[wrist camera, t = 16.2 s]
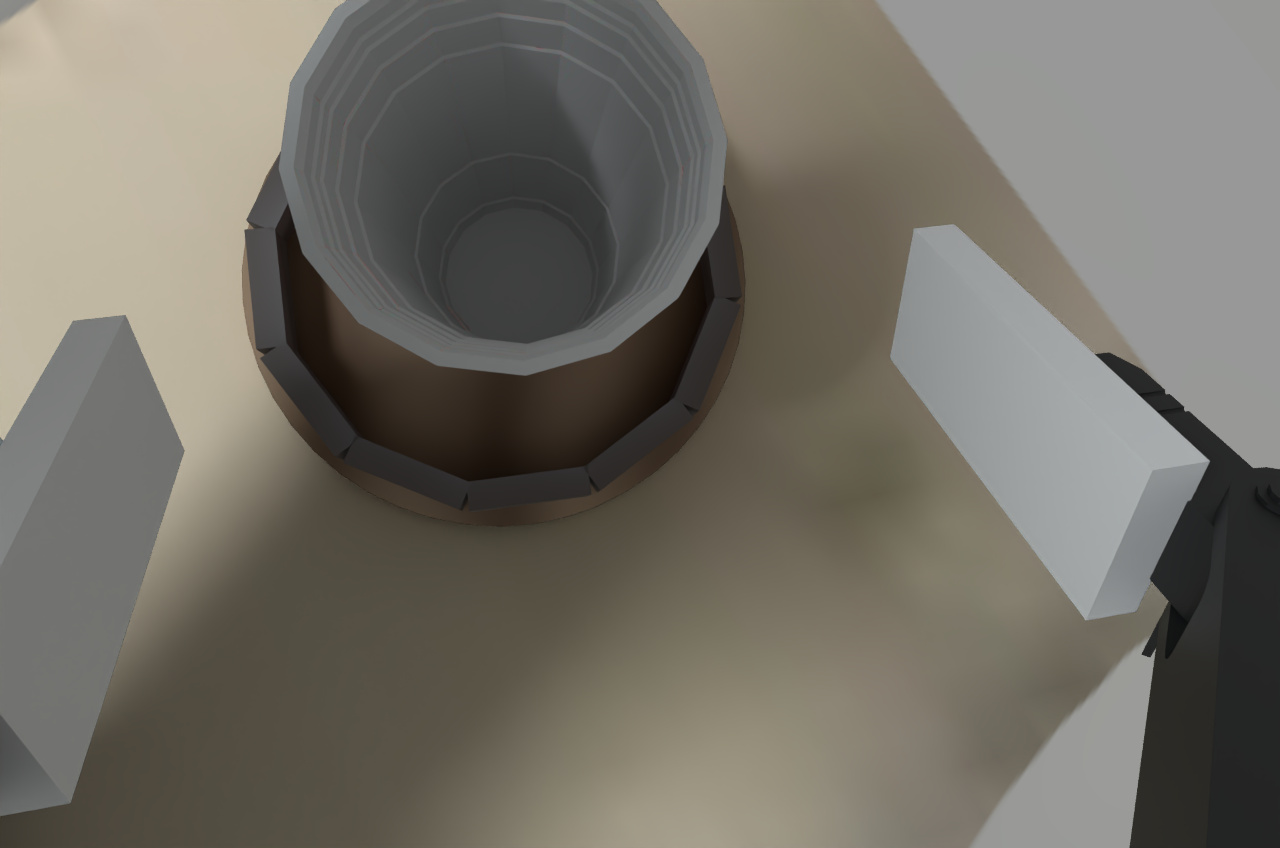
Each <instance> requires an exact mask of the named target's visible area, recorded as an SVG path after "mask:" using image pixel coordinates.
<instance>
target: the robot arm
mask: <svg viewBox="0 0 1280 848" xmlns="http://www.w3.org/2000/svg"><path fill="white" fill-rule="evenodd" d="M890 359H891V360H892V362H893V363H894V364H895V366H896V367H897V368H898V370H899V371H900V372H901V374H902V375H903V376H904V378H905V379H906V380H907V382H908V383H909V384H910V386H911V387H912V388H913V390H914V391H915V392H916V394H917V395H918V396H919V398H920V399H921V400H922V402H923V403H924V405H925V406H926V407H927V409H928V410H929V411H930V413H931V414H932V415H933V417H934V418H935V419H936V421H937V422H938V423H939V425H940V426H941V427H942V429H943V430H944V431H945V433H946V434H947V435H948V437H949V438H950V439H951V441H952V442H953V443H954V445H955V446H956V447H957V449H958V450H959V451H960V453H961V454H962V455H963V457H964V458H965V459H966V461H967V462H968V463H969V465H970V466H971V467H972V469H973V470H974V471H975V473H976V474H977V475H978V477H979V478H980V479H981V481H982V482H983V483H984V485H985V486H986V487H987V489H988V490H989V492H990V493H991V494H992V496H993V497H994V498H995V500H996V501H997V502H998V504H999V505H1000V506H1001V508H1002V509H1003V510H1004V512H1005V513H1006V514H1007V516H1008V517H1009V518H1010V520H1011V521H1012V522H1013V524H1014V525H1015V526H1016V528H1017V529H1018V530H1019V532H1020V533H1021V534H1022V536H1023V537H1024V538H1025V540H1026V541H1027V542H1028V544H1029V545H1030V546H1031V548H1032V549H1033V550H1034V552H1035V553H1036V554H1037V556H1038V557H1039V558H1040V560H1041V561H1042V562H1043V564H1044V565H1045V566H1046V568H1047V569H1048V570H1049V572H1050V573H1051V574H1052V576H1053V577H1054V579H1055V580H1056V581H1057V583H1058V584H1059V585H1060V587H1061V588H1062V589H1063V591H1064V592H1065V593H1066V595H1067V596H1068V597H1069V599H1070V600H1071V601H1072V603H1073V604H1074V605H1075V607H1076V608H1077V609H1078V611H1079V612H1080V613H1081V615H1082V616H1083V617H1084V619H1085V620H1092V619H1098V618H1103V617H1109V616H1114V615H1120V614H1125V613H1131V612H1136V611H1137V609H1138V607H1139V604H1140V602H1141V600H1142V598H1143V596H1144V594H1145V592H1146V590H1147V588H1148V586H1149V584H1150V582H1151V581H1152V582H1153V583H1154V585H1155V586H1156V587H1157V588H1158V589H1159V590H1160V592H1161V593H1162V594H1163V595H1164V596H1165V597H1166V599H1167V600H1168V601H1169V602H1168V604H1167V606H1166V608H1165V610H1164V612H1163V614H1162V616H1161V618H1160V619H1159V621H1158V623H1157V625H1156V627H1155V629H1154V631H1153V633H1152V635H1151V637H1150V639H1149V641H1148V642H1147V644H1146V646H1145V649H1144V651H1143V652H1142V655H1145V656H1147V657H1151V655H1152V653H1153V652H1154V650H1155V648H1156V652H1155V660H1154V667H1153V675H1152V682H1151V690H1150V697H1149V705H1148V712H1147V720H1146V728H1145V736H1144V743H1143V750H1142V758H1141V766H1140V773H1139V780H1138V788H1137V796H1136V803H1135V812H1134V818H1133V826H1132V834H1131V842H1130V848H1280V469H1274V468H1267V467H1265V468H1252V467H1251V466H1250V465H1249V464H1248V463H1247V462H1246V461H1244V460H1243V459H1242V458H1241V457H1240V456H1239V455H1237V453H1235V452H1234V451H1233V450H1232V449H1231V448H1230V447H1229V446H1227V445H1226V444H1225V443H1224V442H1223V441H1222V440H1221V439H1220V438H1219V437H1217V436H1216V435H1215V434H1214V433H1213V432H1212V431H1211V430H1210V429H1208V428H1207V427H1206V426H1205V425H1204V424H1203V423H1202V422H1201V421H1199V420H1198V419H1197V418H1196V417H1195V416H1194V415H1193V414H1192V413H1190V412H1189V411H1187V412H1185V411H1184V406H1182V405H1181V404H1180V403H1179V402H1178V401H1177V400H1176V399H1175V398H1174V397H1172V396H1171V395H1170V394H1167V395H1166V394H1165V389H1163V388H1162V387H1161V386H1160V385H1159V384H1158V383H1157V382H1156V381H1154V380H1153V379H1152V378H1151V377H1150V376H1149V375H1148V374H1146V373H1145V372H1144V371H1143V370H1142V369H1140V368H1138V367H1136V366H1134V365H1132V364H1130V363H1129V362H1127V361H1125V360H1123V359H1121V358H1119V357H1117V356H1115V355H1113V354H1111V353H1101V354H1094V353H1093V352H1092V351H1091V350H1089V349H1088V348H1087V347H1086V346H1085V345H1084V344H1083V343H1082V342H1081V341H1080V340H1079V339H1078V338H1077V337H1075V336H1074V335H1073V334H1072V333H1071V332H1070V331H1069V330H1068V329H1067V328H1066V327H1065V326H1064V325H1063V324H1061V323H1060V322H1059V321H1058V320H1057V319H1056V318H1055V317H1054V316H1053V315H1052V314H1051V313H1050V312H1049V311H1047V310H1046V309H1045V308H1044V307H1043V306H1042V305H1041V304H1040V303H1039V302H1038V301H1037V300H1036V299H1035V298H1033V297H1032V296H1031V295H1030V294H1029V293H1028V292H1027V291H1026V290H1025V289H1024V288H1023V287H1022V286H1020V285H1019V284H1018V283H1017V282H1016V281H1015V280H1014V279H1013V278H1012V277H1011V276H1010V275H1009V274H1008V273H1006V272H1005V271H1004V270H1003V269H1002V268H1001V267H1000V266H999V265H998V264H997V263H996V262H995V261H994V260H992V259H991V258H990V257H989V256H988V255H987V254H986V253H985V252H984V251H983V250H982V249H981V248H980V247H978V246H977V245H976V244H975V243H974V242H973V241H972V240H971V239H970V238H969V237H968V236H967V235H966V234H964V233H963V232H962V231H961V230H960V229H959V228H958V227H957V226H956V225H955V224H951V225H942V226H933V227H923V228H914V231H913V236H912V242H911V247H910V252H909V258H908V263H907V269H906V274H905V279H904V285H903V290H902V296H901V301H900V307H899V312H898V317H897V323H896V328H895V334H894V339H893V345H892V350H891V355H890ZM183 454H184V448H183V446H182V444H181V441H180V439H179V437H178V435H177V432H176V430H175V428H174V425H173V423H172V421H171V418H170V416H169V414H168V412H167V409H166V407H165V405H164V402H163V400H162V398H161V395H160V393H159V391H158V389H157V386H156V384H155V382H154V379H153V377H152V375H151V372H150V370H149V368H148V366H147V363H146V361H145V359H144V356H143V354H142V352H141V349H140V347H139V345H138V343H137V340H136V338H135V336H134V333H133V331H132V329H131V326H130V324H129V322H128V320H127V317H126V315H122V316H113V317H104V318H95V319H86V320H77V321H73V322H72V324H71V325H70V327H69V329H68V331H67V332H66V334H65V336H64V338H63V339H62V341H61V343H60V344H59V346H58V348H57V350H56V351H55V353H54V355H53V356H52V358H51V360H50V362H49V363H48V365H47V367H46V369H45V370H44V372H43V374H42V375H41V377H40V379H39V381H38V382H37V384H36V386H35V387H34V389H33V391H32V393H31V394H30V396H29V398H28V400H27V401H26V403H25V405H24V406H23V408H22V410H21V412H20V413H19V415H18V417H17V418H16V420H15V422H14V424H13V425H12V427H11V429H10V430H9V432H8V434H7V436H6V437H5V439H4V441H3V440H2V439H1V438H0V816H4V815H9V814H15V813H20V812H26V811H31V810H37V809H42V808H48V807H53V806H59V805H65V804H70V803H71V801H72V797H73V794H74V791H75V788H76V785H77V782H78V779H79V776H80V773H81V770H82V766H83V763H84V760H85V757H86V754H87V751H88V748H89V745H90V742H91V739H92V735H93V732H94V729H95V726H96V723H97V720H98V717H99V714H100V711H101V708H102V705H103V701H104V698H105V695H106V692H107V689H108V686H109V683H110V680H111V677H112V674H113V670H114V667H115V664H116V661H117V658H118V655H119V652H120V649H121V646H122V643H123V640H124V636H125V633H126V630H127V627H128V624H129V621H130V618H131V615H132V612H133V609H134V605H135V602H136V599H137V596H138V593H139V590H140V587H141V584H142V581H143V578H144V574H145V571H146V568H147V565H148V562H149V559H150V556H151V553H152V550H153V547H154V544H155V540H156V537H157V534H158V531H159V528H160V525H161V522H162V519H163V516H164V513H165V509H166V506H167V503H168V500H169V497H170V494H171V491H172V488H173V485H174V482H175V479H176V475H177V472H178V469H179V466H180V463H181V460H182V457H183Z"/></svg>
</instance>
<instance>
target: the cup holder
mask: <svg viewBox="0 0 1280 848" xmlns="http://www.w3.org/2000/svg"><path fill="white" fill-rule="evenodd" d="M280 155H281V152H280V154H279V156H278V157H277V159H276V161H275V162H274V164H273V166H272V167H271V169H270V171H269V172H268V174H267V176H266V178H265V181H264V183H263V185H262V188H261V190H260V193H259V195H258V197H257V200H256V202H255V204H254V206H253V208H252V210H251V212H250V214H249V216H248V218H247V222H248V223H249V227H248V229H247V230H245V248H244V257H243V265H242V288H243V306H244V312H245V318H246V324H247V330H248V336H249V339H250V342H251V345H252V348H253V351H254V355H255V358H256V361H257V364H258V367H259V369H260V371H261V373H262V375H263V378H264V380H265V382H266V384H267V386H268V388H269V390H270V392H271V394H272V396H273V398H274V400H275V401H276V403H277V404H278V406H279V407H280V409H281V410H282V412H283V413H284V415H285V416H286V418H287V419H288V421H289V422H290V424H291V425H292V426H293V428H294V429H295V430H296V431H297V432H298V433H299V434H300V436H301V437H302V438H303V439H304V440H305V441H306V442H307V444H308V445H309V446H310V447H311V448H312V449H313V450H314V451H315V452H316V453H317V454H318V455H319V456H320V457H322V458H323V459H324V460H325V461H326V462H327V463H328V464H330V465H331V466H332V467H333V468H334V469H335V470H337V471H338V472H339V473H340V474H342V475H343V476H345V477H346V478H348V479H349V480H351V481H352V482H354V483H355V484H357V485H358V486H360V487H361V488H363V489H364V490H366V491H367V492H369V493H371V494H373V495H375V496H378V497H380V498H382V499H384V500H386V501H388V502H390V503H392V504H394V505H396V506H398V507H401V508H404V509H407V510H410V511H413V512H416V513H419V514H422V515H425V516H428V517H431V518H436V519H441V520H447V521H452V522H457V523H463V524H469V525H487V526H511V525H525V524H535V523H540V522H545V521H550V520H555V519H559V518H564V517H567V516H570V515H573V514H576V513H579V512H582V511H585V510H588V509H590V508H593V507H596V506H598V505H600V504H602V503H604V502H606V501H608V500H610V499H612V498H614V497H616V496H618V495H620V494H622V493H624V492H626V491H628V490H629V489H631V488H632V487H634V486H635V485H637V484H638V483H640V482H641V481H643V480H644V479H646V478H647V477H649V476H650V475H651V474H653V473H654V472H655V471H657V470H658V469H659V468H660V467H661V466H662V465H663V464H664V463H665V462H667V461H668V460H669V459H670V458H671V457H672V456H673V455H674V454H676V453H677V452H678V451H679V450H680V448H681V447H682V446H683V445H684V444H685V443H686V441H687V440H688V439H689V438H690V437H691V436H692V434H693V433H694V432H695V431H696V430H697V429H698V427H699V426H700V424H701V423H702V421H703V420H704V418H705V417H706V415H707V414H708V412H709V410H710V409H711V407H712V406H713V404H714V403H715V401H716V399H717V397H718V395H719V393H720V391H721V389H722V387H723V384H724V382H725V380H726V378H727V376H728V374H729V371H730V368H731V365H732V362H733V359H734V356H735V353H736V349H737V346H738V343H739V338H740V332H741V326H742V321H743V315H744V298H745V274H744V263H743V252H742V247H741V243H740V238H739V234H738V229H737V225H736V221H735V218H734V215H733V213H732V210H731V207H730V204H729V202H728V199H727V196H726V190H725V186H723V190H722V200H721V210H720V220H719V225H718V227H717V228H716V230H715V232H714V234H713V236H712V238H711V239H710V241H709V243H708V245H707V247H706V248H705V250H704V252H703V254H702V256H701V258H700V259H699V261H698V263H697V265H696V267H695V269H694V270H693V272H692V274H691V276H690V278H689V279H688V281H687V283H686V285H685V287H684V289H683V290H682V292H681V294H680V296H679V298H678V299H676V300H675V301H674V302H673V303H671V304H670V305H669V306H668V307H666V308H665V309H664V310H663V311H661V312H660V313H659V314H658V315H656V316H655V317H654V318H653V319H651V320H650V321H649V322H647V323H646V324H645V325H644V326H642V327H641V328H640V329H639V330H637V331H636V332H635V333H634V334H632V335H631V336H630V337H629V338H627V339H626V340H625V341H624V342H622V343H621V344H620V345H618V346H617V347H616V348H615V349H613V350H612V351H611V352H608V353H604V354H601V355H597V356H594V357H590V358H587V359H583V360H580V361H576V362H573V363H569V364H566V365H562V366H558V367H555V368H551V369H548V370H544V371H541V372H537V373H534V374H530V375H527V376H524V375H515V374H506V373H497V372H488V371H479V370H470V369H461V368H453V367H444V366H437V365H435V364H433V363H431V362H429V361H427V360H426V359H424V358H422V357H420V356H418V355H416V354H415V353H413V352H411V351H409V350H407V349H405V348H404V347H402V346H400V345H398V344H396V343H395V342H393V341H391V340H389V339H387V338H385V337H384V336H382V335H380V334H378V333H376V332H374V331H373V330H371V329H369V328H367V327H365V326H363V325H362V324H360V323H358V322H357V320H356V319H355V318H354V317H353V315H352V314H351V313H350V312H349V311H348V309H347V308H346V307H345V306H344V304H343V303H342V302H341V301H340V299H339V298H338V297H337V296H336V294H335V293H334V292H333V291H332V289H331V288H330V287H329V286H328V284H327V283H326V282H325V281H324V279H323V278H322V277H321V276H320V274H319V273H318V272H317V271H316V270H315V268H314V267H313V266H312V265H311V263H310V262H309V261H308V260H307V258H306V257H305V256H304V255H303V253H302V250H301V246H300V243H299V239H298V236H297V232H296V229H295V225H294V222H293V218H292V214H291V211H290V207H289V204H288V200H287V197H286V193H285V190H284V186H283V183H282V179H281V176H280V172H279V162H280Z"/></svg>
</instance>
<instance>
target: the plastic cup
mask: <svg viewBox="0 0 1280 848" xmlns="http://www.w3.org/2000/svg"><path fill="white" fill-rule="evenodd" d="M727 141H728V140H727V136H726V133H725V130H724V126H723V123H722V120H721V116H720V113H719V110H718V106H717V103H716V100H715V97H714V93H713V90H712V87H711V83H710V80H709V77H708V73H707V70H706V67H705V63H704V60H703V58H702V57H701V56H700V55H699V53H698V52H697V51H696V50H695V48H694V47H693V46H692V45H691V43H690V42H689V41H688V40H687V38H686V37H685V36H684V35H683V33H682V32H681V31H680V30H679V28H678V27H677V26H676V25H675V23H674V22H673V21H672V20H671V19H670V17H669V16H668V15H667V14H666V12H665V11H664V10H663V9H662V7H661V6H660V5H659V4H658V2H657V1H656V0H347V1H345V2H344V3H342V4H341V5H340V6H338V7H337V8H336V9H334V11H333V13H332V14H331V16H330V18H329V19H328V21H327V23H326V24H325V26H324V28H323V29H322V31H321V33H320V34H319V36H318V38H317V39H316V41H315V43H314V44H313V46H312V48H311V49H310V51H309V53H308V54H307V56H306V58H305V59H304V61H303V62H302V64H301V66H300V67H299V69H298V71H297V72H296V74H295V76H294V77H293V79H292V81H291V82H290V88H289V95H288V103H287V110H286V118H285V125H284V132H283V140H282V147H281V155H280V162H279V172H280V176H281V179H282V183H283V186H284V190H285V193H286V197H287V200H288V204H289V207H290V211H291V214H292V218H293V222H294V225H295V229H296V232H297V236H298V239H299V243H300V246H301V250H302V253H303V255H304V256H305V257H306V258H307V260H308V261H309V262H310V263H311V265H312V266H313V267H314V268H315V270H316V271H317V272H318V273H319V274H320V276H321V277H322V278H323V279H324V281H325V282H326V283H327V284H328V286H329V287H330V288H331V289H332V291H333V292H334V293H335V294H336V296H337V297H338V298H339V299H340V301H341V302H342V303H343V304H344V306H345V307H346V308H347V309H348V311H349V312H350V313H351V314H352V315H353V317H354V318H355V319H356V320H357V322H358V323H360V324H362V325H363V326H365V327H367V328H369V329H371V330H373V331H374V332H376V333H378V334H380V335H382V336H384V337H385V338H387V339H389V340H391V341H393V342H395V343H396V344H398V345H400V346H402V347H404V348H405V349H407V350H409V351H411V352H413V353H415V354H416V355H418V356H420V357H422V358H424V359H426V360H427V361H429V362H431V363H433V364H435V365H437V366H444V367H453V368H461V369H470V370H479V371H488V372H497V373H506V374H515V375H524V376H527V375H530V374H534V373H537V372H541V371H544V370H548V369H551V368H555V367H558V366H562V365H566V364H569V363H573V362H576V361H580V360H583V359H587V358H590V357H594V356H597V355H601V354H604V353H608V352H611V351H612V350H613V349H615V348H616V347H617V346H618V345H620V344H621V343H622V342H624V341H625V340H626V339H627V338H629V337H630V336H631V335H632V334H634V333H635V332H636V331H637V330H639V329H640V328H641V327H642V326H644V325H645V324H646V323H647V322H649V321H650V320H651V319H653V318H654V317H655V316H656V315H658V314H659V313H660V312H661V311H663V310H664V309H665V308H666V307H668V306H669V305H670V304H671V303H673V302H674V301H675V300H676V299H678V298H679V296H680V294H681V292H682V290H683V289H684V287H685V285H686V283H687V281H688V279H689V278H690V276H691V274H692V272H693V270H694V269H695V267H696V265H697V263H698V261H699V259H700V258H701V256H702V254H703V252H704V250H705V248H706V247H707V245H708V243H709V241H710V239H711V238H712V236H713V234H714V232H715V230H716V228H717V227H718V225H719V220H720V210H721V200H722V190H723V180H724V171H725V161H726V151H727Z"/></svg>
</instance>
